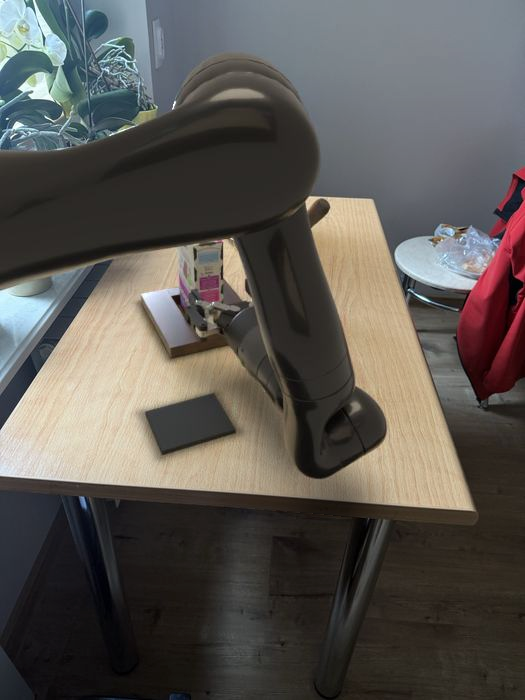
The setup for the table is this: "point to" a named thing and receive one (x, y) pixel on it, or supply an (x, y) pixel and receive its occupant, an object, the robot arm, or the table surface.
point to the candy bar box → (201, 271)
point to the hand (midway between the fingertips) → (220, 288)
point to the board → (180, 321)
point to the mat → (189, 423)
